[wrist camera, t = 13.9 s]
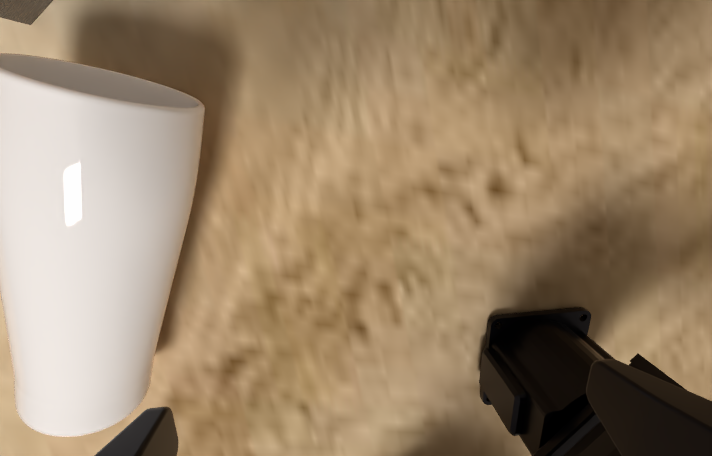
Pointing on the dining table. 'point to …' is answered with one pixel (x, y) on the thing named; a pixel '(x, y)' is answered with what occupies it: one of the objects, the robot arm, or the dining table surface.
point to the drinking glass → (89, 233)
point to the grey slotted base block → (22, 9)
